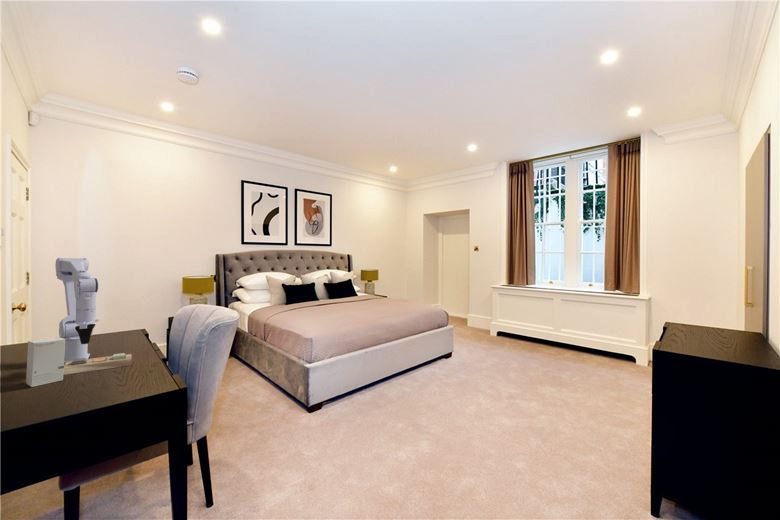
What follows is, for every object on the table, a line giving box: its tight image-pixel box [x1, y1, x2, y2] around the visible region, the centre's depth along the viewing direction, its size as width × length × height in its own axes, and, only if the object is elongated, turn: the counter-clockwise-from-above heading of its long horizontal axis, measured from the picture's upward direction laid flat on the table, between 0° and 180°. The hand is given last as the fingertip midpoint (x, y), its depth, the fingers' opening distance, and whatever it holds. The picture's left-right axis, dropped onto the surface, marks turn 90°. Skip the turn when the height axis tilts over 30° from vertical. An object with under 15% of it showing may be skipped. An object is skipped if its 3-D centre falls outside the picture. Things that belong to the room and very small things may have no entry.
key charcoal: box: [72, 358, 86, 365], centre depth 127 cm, size 4×4×2 cm
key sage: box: [112, 352, 126, 360], centre depth 135 cm, size 4×4×2 cm
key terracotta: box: [93, 357, 106, 363], centre depth 131 cm, size 4×4×2 cm
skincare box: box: [25, 336, 65, 388], centre depth 115 cm, size 8×6×15 cm
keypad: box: [63, 353, 132, 376], centre depth 131 cm, size 9×20×2 cm, turn 128°
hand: (85, 343), depth 130 cm, fingers closed
